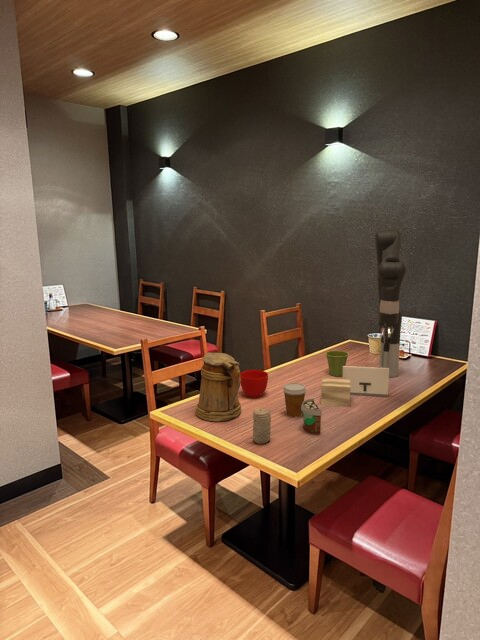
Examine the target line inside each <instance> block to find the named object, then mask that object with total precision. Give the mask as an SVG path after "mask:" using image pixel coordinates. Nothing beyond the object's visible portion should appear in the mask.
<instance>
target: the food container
mask: <svg viewBox="0 0 480 640" xmlns="http://www.w3.org/2000/svg"><path fill="white" fill-rule="evenodd" d="M301 410H302V416H303V417H302V419H303V429H304V431H305V432H307V433H309V434H313V435H320V434H321V425H322V424H321V423H322V409H320V408H319V407H318V404H316V402H315V398H308V399H304V402H303V403H302V406H301Z"/></svg>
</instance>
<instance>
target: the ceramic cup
mask: <svg viewBox="0 0 480 640" xmlns="http://www.w3.org/2000/svg"><path fill="white" fill-rule="evenodd" d="M240 375H241V382H240V387H241V389H242V391H243V393H244V394H245V395H246V396H247V397H249V398H253V399H255V398H258V397H259V398H260V397H261V396H262V395H263V394H264V393H265V391H266V389H267V387H268V382H269V381H268V380H269V373H268V372H267V371H265V370H261V369H260V370H259V369H247V370H244V371H242V372H241V371H240Z"/></svg>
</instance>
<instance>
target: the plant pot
mask: <svg viewBox="0 0 480 640" xmlns="http://www.w3.org/2000/svg"><path fill="white" fill-rule="evenodd" d="M325 355H326V359H327V364H328V365H327V366H328V370H329V375H330V376H331V377H332V376H333V377H339V376H340V377H343V366H347V360H348V356H349V355H350V353H349V352H347V351H344V350H329V351H326V352H325Z"/></svg>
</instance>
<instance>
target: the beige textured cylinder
mask: <svg viewBox="0 0 480 640" xmlns="http://www.w3.org/2000/svg"><path fill="white" fill-rule="evenodd" d="M271 416H272V414H271V411H270V409H269V408H267V407H257V408H255V409H254V410H253V411H252V420H253V421H252V437H253V441H254V443H256V444H266V443H268V442H269V441H270V440H271V436H272V435H271V422H272V417H271Z"/></svg>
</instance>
